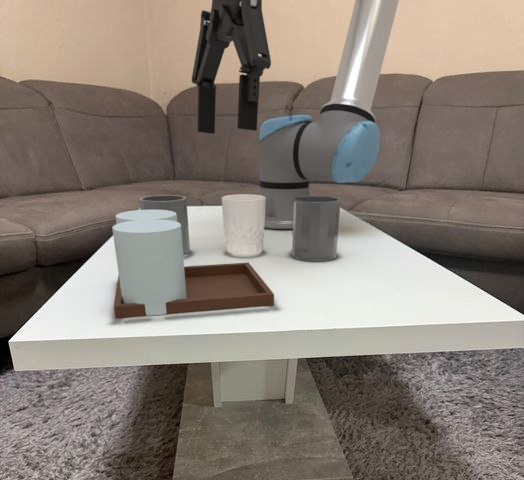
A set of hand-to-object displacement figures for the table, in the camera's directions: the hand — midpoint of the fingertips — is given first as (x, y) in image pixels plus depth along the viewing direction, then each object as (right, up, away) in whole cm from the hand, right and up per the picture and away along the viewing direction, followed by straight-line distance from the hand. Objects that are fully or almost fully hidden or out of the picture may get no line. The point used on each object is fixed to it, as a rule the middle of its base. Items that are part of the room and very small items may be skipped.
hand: (225, 131), depth 69 cm
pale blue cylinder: (-8, -28, -11) cm, 31 cm away
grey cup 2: (+15, -16, +14) cm, 26 cm away
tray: (-4, -26, -6) cm, 27 cm away
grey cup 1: (-12, -16, +15) cm, 24 cm away
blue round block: (-10, -24, -4) cm, 26 cm away
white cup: (+2, -15, +16) cm, 22 cm away
